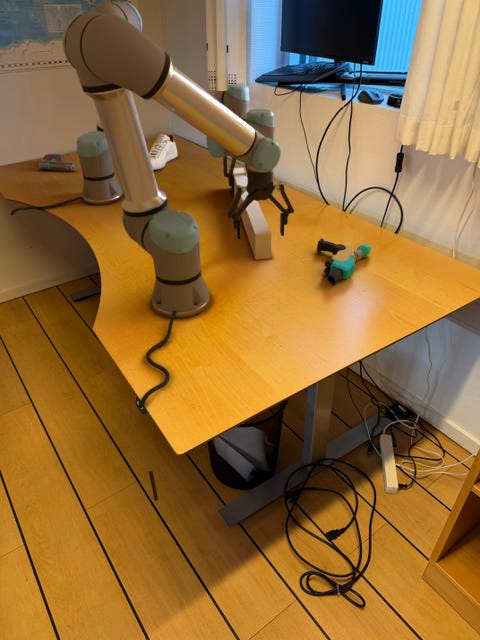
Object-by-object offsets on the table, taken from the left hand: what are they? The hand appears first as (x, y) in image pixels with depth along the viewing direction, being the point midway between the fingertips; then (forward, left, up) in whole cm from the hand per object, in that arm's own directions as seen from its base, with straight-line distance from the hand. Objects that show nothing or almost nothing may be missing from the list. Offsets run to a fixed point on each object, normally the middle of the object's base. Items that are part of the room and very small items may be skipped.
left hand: (239, 193), depth 186 cm
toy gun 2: (+26, -58, -1) cm, 64 cm away
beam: (+2, -23, -1) cm, 23 cm away
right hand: (+5, -45, +3) cm, 45 cm away
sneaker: (-36, +39, -1) cm, 53 cm away
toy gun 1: (-80, +38, -1) cm, 89 cm away
